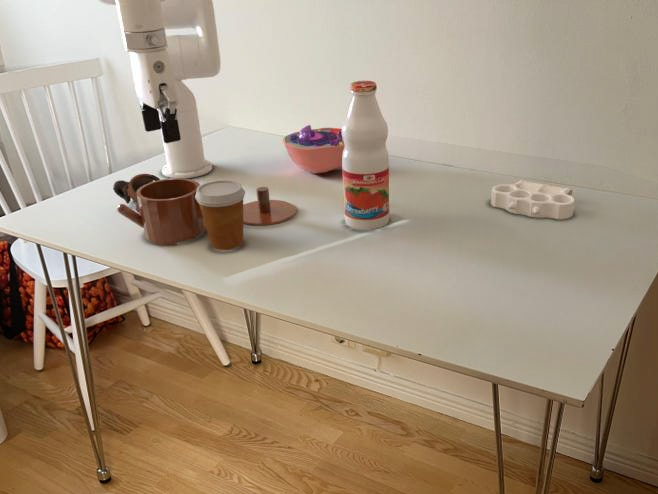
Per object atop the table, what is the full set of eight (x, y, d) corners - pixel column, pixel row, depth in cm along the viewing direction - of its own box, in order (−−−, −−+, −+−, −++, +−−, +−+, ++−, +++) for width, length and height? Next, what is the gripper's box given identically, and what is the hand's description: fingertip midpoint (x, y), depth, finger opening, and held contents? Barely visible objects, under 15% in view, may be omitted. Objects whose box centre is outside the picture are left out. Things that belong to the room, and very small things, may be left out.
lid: (223, 214, 155) (220, 187, 152) (276, 199, 161) (274, 173, 158) (252, 233, 146) (249, 205, 142) (307, 217, 152) (305, 190, 148)
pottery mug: (170, 197, 166) (170, 173, 158) (162, 229, 161) (161, 205, 154) (118, 187, 164) (115, 162, 157) (108, 218, 159) (105, 194, 152)
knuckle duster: (585, 202, 153) (562, 226, 143) (508, 188, 162) (480, 210, 152) (588, 187, 151) (564, 210, 142) (509, 174, 160) (482, 195, 150)
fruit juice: (387, 212, 152) (386, 76, 137) (391, 230, 145) (390, 88, 129) (344, 214, 152) (338, 78, 137) (345, 232, 145) (339, 90, 129)
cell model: (365, 181, 169) (364, 133, 163) (282, 183, 170) (277, 136, 163) (365, 158, 183) (363, 114, 177) (288, 160, 184) (284, 116, 177)
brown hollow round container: (136, 231, 149) (127, 187, 144) (191, 216, 155) (184, 173, 149) (159, 251, 140) (150, 205, 135) (217, 234, 146) (210, 190, 141)
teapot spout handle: (122, 232, 143) (115, 203, 140) (122, 228, 145) (115, 200, 142) (223, 219, 147) (219, 190, 144) (222, 215, 149) (218, 187, 146)
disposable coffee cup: (212, 259, 136) (202, 200, 129) (197, 242, 143) (187, 185, 136) (258, 248, 139) (251, 190, 133) (241, 232, 147) (234, 175, 140)
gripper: (183, 43, 123) (199, 142, 132) (147, 31, 135) (164, 122, 144) (142, 49, 119) (161, 150, 129) (109, 36, 131) (128, 129, 141)
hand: (162, 135), depth 136 cm, fingers open, 9 cm apart
